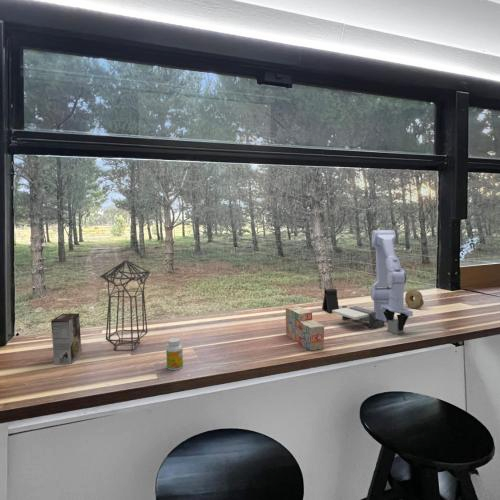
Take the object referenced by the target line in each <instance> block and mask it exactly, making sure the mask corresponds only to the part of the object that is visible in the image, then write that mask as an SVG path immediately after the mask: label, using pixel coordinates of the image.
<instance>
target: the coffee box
mask: <svg viewBox="0 0 500 500" xmlns="http://www.w3.org/2000/svg"><path fill="white" fill-rule="evenodd" d="M50 322H51V325H50V327H51V337H52V339H51V341H52V351H53V352H52V353H53V355H52V356H53V365H56V366H57V365H72V364H73V363H74V362H75V361H76V360H77V359H78V358H79V357H80V356H81V355H83V352H82V351H83V350H82V340H81V337H82V336H81V324H80V313H61V314H60V315H58V316H57V317H55V318H54V319H52V320H51V321H50Z"/></svg>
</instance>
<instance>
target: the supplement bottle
mask: <svg viewBox="0 0 500 500" xmlns="http://www.w3.org/2000/svg"><path fill="white" fill-rule="evenodd" d="M167 344H168V345H167V346H166V351H165V352H166V368H167V369H168V370H170V371H177V370H181V369H182V368H183V366H184V361H183V360H184V359H183V358H184V357H183V353H184V352H183V345H182V344H181V338H179V337H171V338H169V339H168V340H167Z"/></svg>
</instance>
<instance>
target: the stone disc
mask: <svg viewBox="0 0 500 500" xmlns="http://www.w3.org/2000/svg"><path fill="white" fill-rule="evenodd" d="M404 296H405V297H404V301H405V304H406V305H407V306H408V307H409V308H411V309H420V308H422V307H423V305H424V303H425V302H424V299H423V294H422V293H421V292H420V290H417V289H409V290H408V291H407V292H406V294H405V295H404Z"/></svg>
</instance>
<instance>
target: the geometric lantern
mask: <svg viewBox="0 0 500 500" xmlns="http://www.w3.org/2000/svg"><path fill="white" fill-rule="evenodd" d="M126 264H127V268H128V271H125V267H126ZM139 269H140V270H143V271H140V270H139ZM118 274H120V277H117V275H118ZM126 274H128V275H130V276H128V275H126ZM150 274H151V271H149V270H147V269H145V268H144V267H141V266H139V265H137V264H136V263H133V262H132V261H129V260H123V261H121V262H120V263H119V264H117V265H115V266H114V267H113V268H111V269H109V270H108V271H106V272H104V273H103V274H101V275H99V278H101V279H104V280H105V281H106V282H107V294H108V295H107V296H108V304H107V319H106V330H105V331H106V332H105V340H106V342H109V344H111V345H113V349H112V350H113V351H114V352H115V351H117V352H118V351H120V352H121V351H122V352H123V351H134V350H136V349H137V347H138V346H139V345H140V343H141V339H142V338H143V337H144V336H146V335H147V334H148V324H147V323H148V321H147V312H146V301H145V286H146V285H145V284H146V281H147V279H148V278H149V277H150ZM136 275H137V276H136ZM123 276H124V277H123ZM109 278H110V279H109ZM143 279H144V280H143ZM115 280H119V282H120V284H119V283H118V284H116V283H115ZM122 280H127V281H125V282H124V283H122ZM132 281H136V282H137V284H138V287H137V290H131V293H133V292H134V293H135V294H134V295H131V294H130V292H129V290H127V286H128V284H129V283H130V282H132ZM139 281H140V283H139ZM110 284H112V285H113V289H112V290H111V291H110ZM141 285H142V287H141ZM119 287H123V288H122V290H120V289H119ZM115 288H117V290H115ZM139 289H140V290H139ZM114 290H115V291H114ZM110 292H111V293H110ZM121 292H122V295H121V296H120V293H121ZM125 292H126V293H127V295H128V296H127V295H126V296H125ZM137 292H141V293H139V294H137ZM116 293H117V295H113V294H116ZM140 295H141V306H142V307H141V312H142V315H141V316H142V329H139V316H138V315H139V314H138V302H137V297H138V296H140ZM112 298H117V305H116V306H117V308H116V309H117V310H116V326H115V331H114V332H113V333H111V317H112V316H111V315H112V313H111V312H112V310H111V307H112ZM120 298H122V303H121V304H122V305H121V307H122V314H121V315H122V319H121V321H122V323H121V329H119V330H118V325H119V309H120V308H119V307H120ZM125 298H130V299H129V301H130V302H129V303H130V304H129V305H130V329H124V325H125V324H124V323H125V321H124V320H125V317H124V315H125V308H124V307H125ZM132 298H134V306H135V318H136V329H133V305H132V304H133V303H132V302H133V301H132V300H133V299H132ZM118 332H121V337H120V335H119V333H118ZM123 332H130V335H131V336H130V337H123ZM134 332H137V337H133V336H134V335H133V333H134ZM143 332H144V333H143ZM113 335H117V337H118V339H111V337H113ZM130 339H131V340H130ZM114 342H115V343H114ZM117 343H118V344H117ZM136 344H137V345H136ZM118 346H120V347H121V346H123V347H124V346H125V347H126V346H127V347H129V346H130V347H131V349H130V348H129V349H117V348H118Z"/></svg>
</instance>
